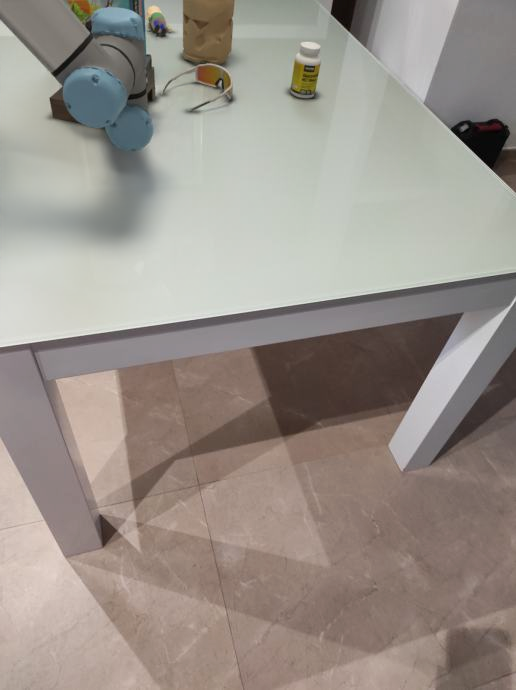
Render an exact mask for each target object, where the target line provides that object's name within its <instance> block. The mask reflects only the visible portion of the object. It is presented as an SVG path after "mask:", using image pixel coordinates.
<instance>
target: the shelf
mask: <svg viewBox="0 0 516 690" xmlns="http://www.w3.org/2000/svg"><path fill="white" fill-rule="evenodd" d="M155 75H156V74H155V66H152V70H151V72H150V74H149V77H148V79H147V80H148V86H147V87H146V88H147V101H154V100H155V99H156V76H155ZM49 103H50V109H51V114H52V119H58V120H63V121H67V122H68V121H69V122H73V123H78V124H81V123H80V122H78V121H77V120H76V119H75V118H74V117H73V116H72V115H71V114H70V113H69V111H68V110H67V107H66V105H65V102H64V100H63V86H62V85H61V87H60V88H59V89H58V90H56V91H55V93H53V94H52V95H51V96H50V97H49ZM103 128H104V129H105V127H103Z"/></svg>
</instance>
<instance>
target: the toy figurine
mask: <svg viewBox="0 0 516 690" xmlns="http://www.w3.org/2000/svg"><path fill="white" fill-rule="evenodd" d="M145 21H148V23H149V26H150V27H151V28H152V30H153V32H154V33H155V34H160V36H161V37H163V38H164V37H165V36H166V34H167V32H168V33H171V32H172V31H173V28H172V27H171V26H169V25H168V24H167V20H166V18H165V17H164V14H163V13H162V11H161V9H160V8H159V6H157V5H151V6H149V7H148V8H147V11H146V14H145Z"/></svg>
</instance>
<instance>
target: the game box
mask: <svg viewBox="0 0 516 690" xmlns="http://www.w3.org/2000/svg"><path fill="white" fill-rule="evenodd" d="M63 1H64V2H65V3H66V5H67V6H68V7H69V8H70V9H71V11H72V12H73V13H74V14H75V15H76V16H77V18H78V19H79V20H80V21H81V22H82V24H83V25H84V26H85V23H86V22H87V21H92V20H91V18H92V14H93V13H94V12H95V11H96V10H98V9H101V8H107V7H118V8H124V9H129V10H131V11H134V12H135V13H137V14H138V15H139V16H140V17H141V19H142V22H143V32H144V38H145V42H144V44H145V55H147V36H146V35H147V33H146V19H145V15H146V13H145V12H146V11H145V0H63Z"/></svg>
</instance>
